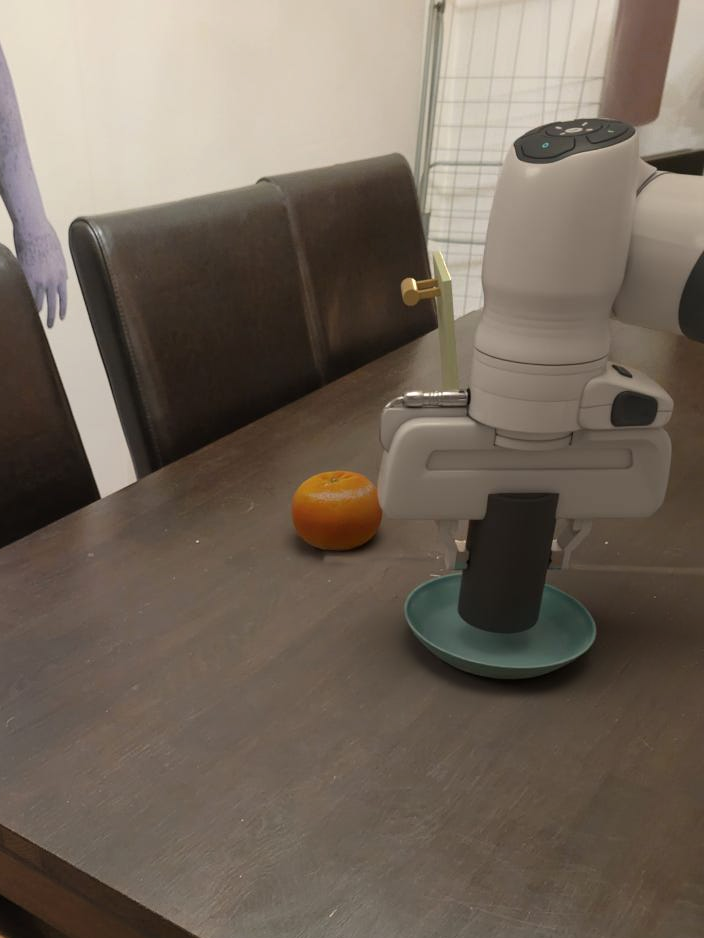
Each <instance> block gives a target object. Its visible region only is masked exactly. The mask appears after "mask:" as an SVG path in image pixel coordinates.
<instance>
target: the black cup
mask: <svg viewBox="0 0 704 938" xmlns="http://www.w3.org/2000/svg"><path fill="white" fill-rule="evenodd" d="M558 499H559V493H497V494H488V500H487V508H486V514H485V516H484V519H482V520H468V525H467V533H466V539H465V542H466V545H467V546H466V547H468V549H469V551H470V554H469V560H468V561H467V563H468V568H467V570H461V573H462V578H461V586H460V593H459V601H458V613H459V615H460V617H461V618H462V619H463V620H464V621H465V622H466V623H468V624H469V625H471V626H473V627H475V628H478V629H480V630H484V631H488V632H492V633H501V634H511V633H519V632H523V631H526V630H528V629H530V628H532V627H533V626H534V625H535V624H536V623H537V621H538V618H539V612H540V607H541V602H542V596H543V591H544V585H545V583H546V579H547V574H548V570H549V569H548V564H549V558H550V553H551V547H552V542H553V540H554V537H555V532H556V531H555V530H556V525H557V521H558V519H556V510H557V505H558Z"/></svg>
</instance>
